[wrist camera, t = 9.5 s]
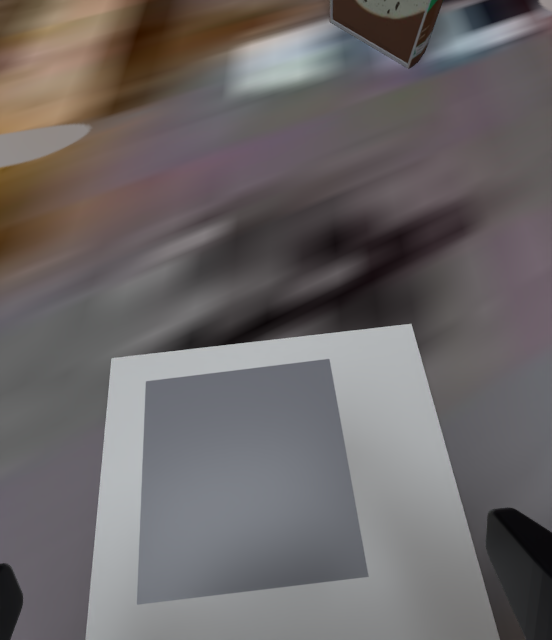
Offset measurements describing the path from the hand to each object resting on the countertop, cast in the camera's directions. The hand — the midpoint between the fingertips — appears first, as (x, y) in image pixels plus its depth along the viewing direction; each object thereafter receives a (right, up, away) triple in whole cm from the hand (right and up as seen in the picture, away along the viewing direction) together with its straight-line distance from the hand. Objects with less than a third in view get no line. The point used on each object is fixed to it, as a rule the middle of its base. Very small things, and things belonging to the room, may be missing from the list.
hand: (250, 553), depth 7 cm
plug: (+1, -4, +11) cm, 12 cm away
